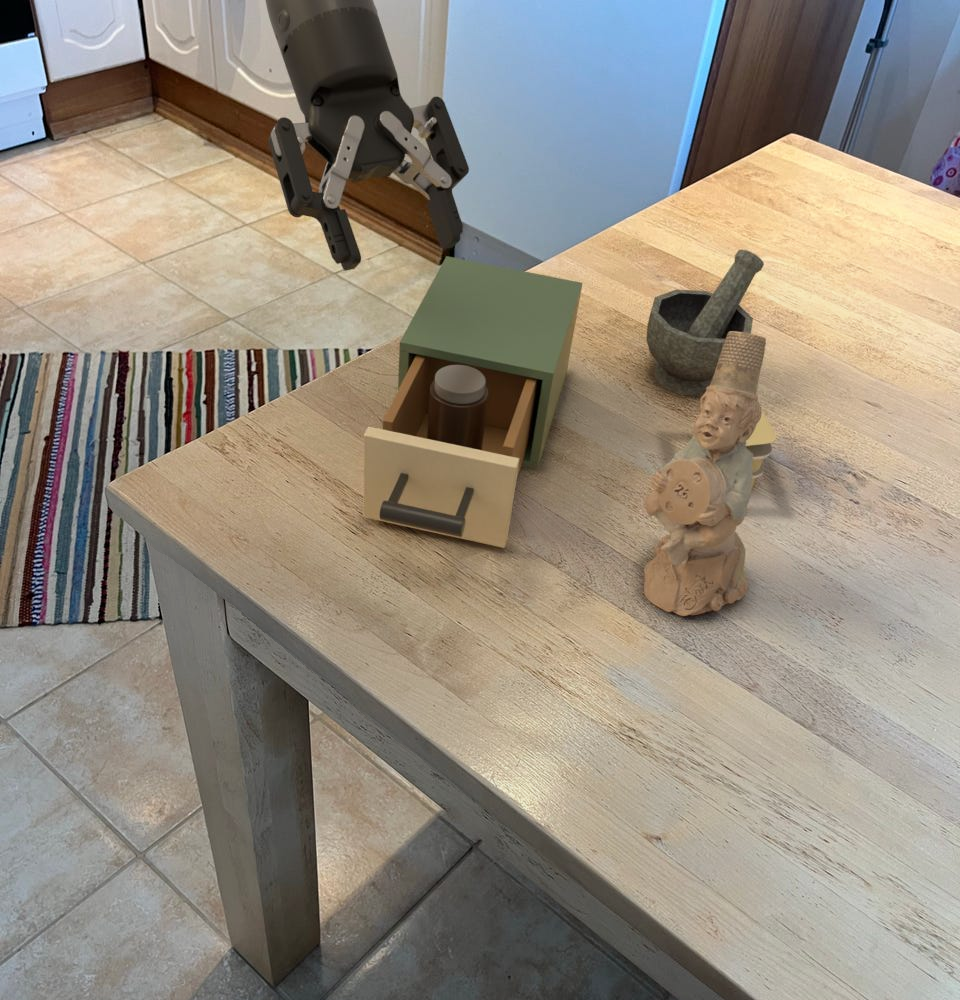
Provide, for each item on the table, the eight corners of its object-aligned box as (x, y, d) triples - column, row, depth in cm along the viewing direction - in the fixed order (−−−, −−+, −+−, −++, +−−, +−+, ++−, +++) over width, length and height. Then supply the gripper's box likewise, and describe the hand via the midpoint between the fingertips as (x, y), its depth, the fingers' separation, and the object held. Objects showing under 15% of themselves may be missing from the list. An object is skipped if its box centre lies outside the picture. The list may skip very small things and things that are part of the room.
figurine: (676, 532, 80) (747, 307, 66) (762, 587, 77) (857, 362, 62) (608, 581, 76) (668, 350, 61) (697, 642, 72) (783, 412, 57)
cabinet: (537, 470, 84) (553, 373, 77) (395, 440, 85) (399, 341, 78) (565, 376, 95) (582, 282, 88) (439, 350, 96) (446, 255, 89)
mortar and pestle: (685, 418, 92) (720, 299, 83) (615, 370, 96) (641, 253, 87) (761, 383, 97) (801, 268, 88) (691, 340, 102) (723, 226, 93)
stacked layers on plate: (662, 438, 89) (677, 386, 85) (758, 444, 90) (777, 393, 86) (680, 509, 82) (697, 456, 78) (783, 515, 83) (805, 463, 79)
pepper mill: (418, 485, 78) (424, 388, 72) (432, 453, 81) (439, 357, 75) (472, 496, 78) (482, 400, 71) (483, 464, 81) (495, 368, 74)
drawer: (491, 591, 72) (503, 509, 67) (343, 558, 73) (342, 474, 68) (537, 441, 86) (550, 363, 80) (411, 415, 86) (415, 335, 81)
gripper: (395, 52, 77) (461, 256, 80) (224, 71, 71) (302, 291, 74) (434, -5, 71) (505, 219, 73) (249, 10, 65) (334, 254, 67)
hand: (403, 255), depth 73 cm, fingers open, 8 cm apart
